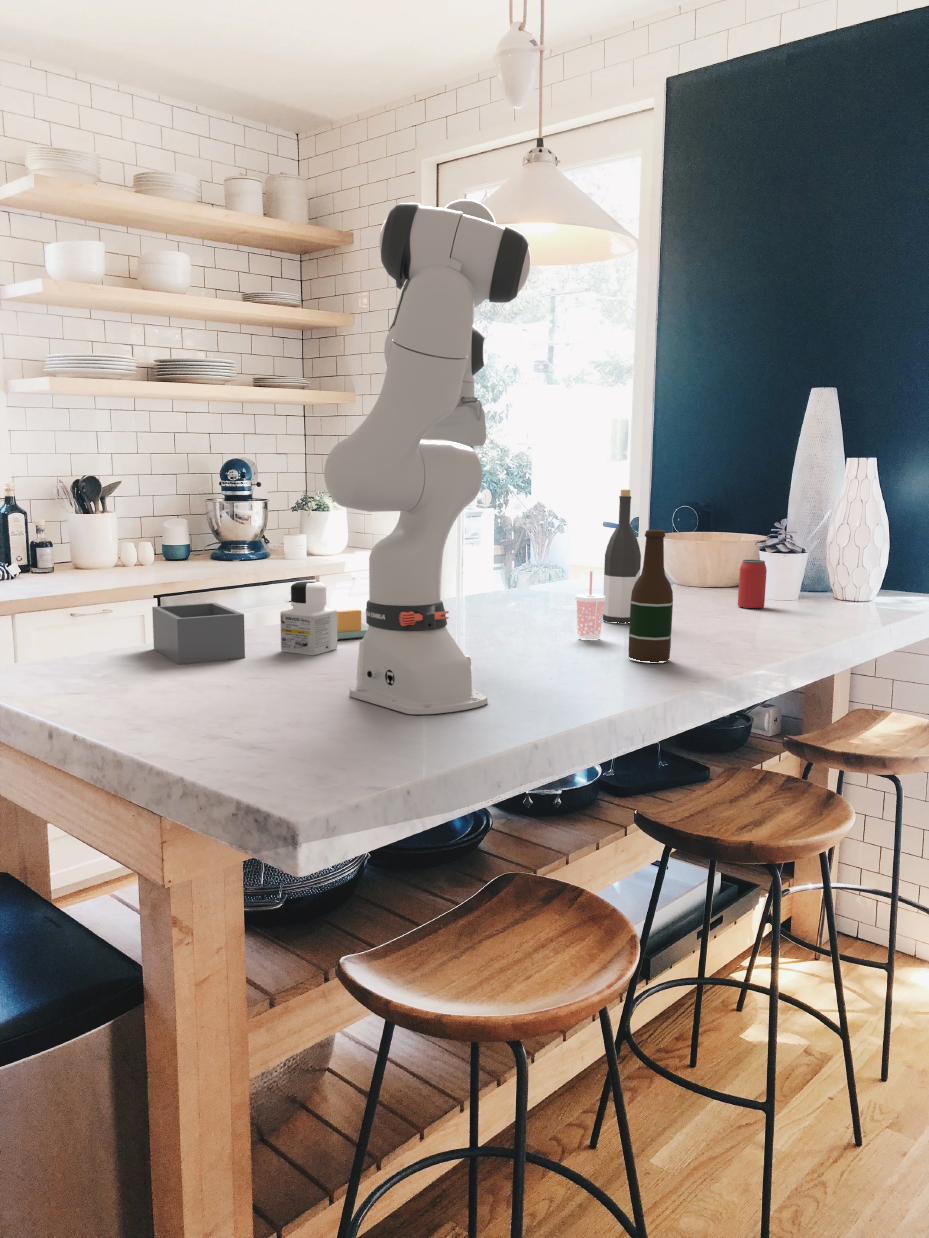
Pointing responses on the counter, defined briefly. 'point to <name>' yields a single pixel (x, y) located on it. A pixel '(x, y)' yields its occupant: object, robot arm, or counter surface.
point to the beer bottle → (651, 605)
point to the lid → (350, 625)
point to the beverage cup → (589, 614)
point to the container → (308, 621)
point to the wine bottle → (621, 566)
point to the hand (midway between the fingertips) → (450, 469)
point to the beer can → (752, 584)
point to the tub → (198, 632)
